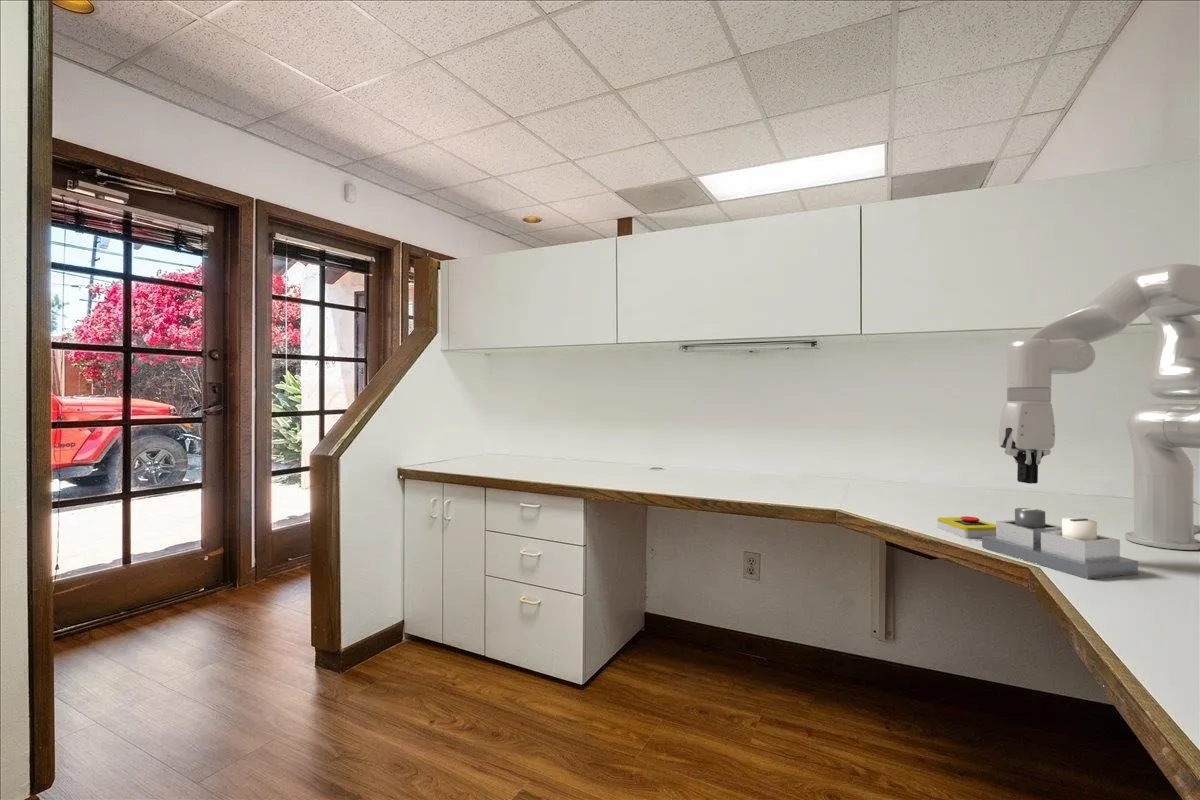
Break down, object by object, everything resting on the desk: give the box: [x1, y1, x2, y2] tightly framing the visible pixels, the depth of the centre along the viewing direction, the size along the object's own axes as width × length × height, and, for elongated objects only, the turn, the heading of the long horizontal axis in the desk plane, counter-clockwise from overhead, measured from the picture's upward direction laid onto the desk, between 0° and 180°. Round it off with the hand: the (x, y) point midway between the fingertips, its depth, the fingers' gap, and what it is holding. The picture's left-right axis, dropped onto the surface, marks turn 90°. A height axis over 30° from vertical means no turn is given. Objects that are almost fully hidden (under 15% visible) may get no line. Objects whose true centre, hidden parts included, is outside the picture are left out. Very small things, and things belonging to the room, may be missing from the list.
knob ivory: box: [1061, 517, 1098, 541], centre depth 110 cm, size 5×5×6 cm
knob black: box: [1014, 507, 1046, 529], centre depth 119 cm, size 5×5×6 cm
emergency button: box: [936, 516, 996, 541], centre depth 138 cm, size 9×4×15 cm
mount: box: [981, 519, 1139, 580], centre depth 114 cm, size 12×22×6 cm, turn 12°
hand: (1027, 482), depth 119 cm, fingers closed
